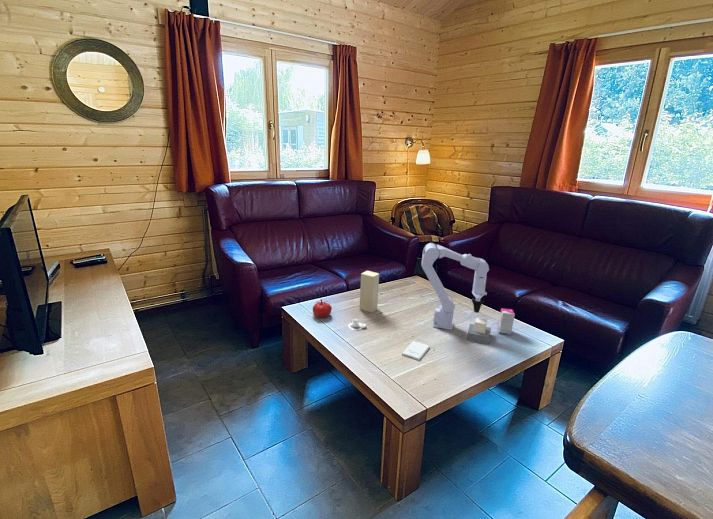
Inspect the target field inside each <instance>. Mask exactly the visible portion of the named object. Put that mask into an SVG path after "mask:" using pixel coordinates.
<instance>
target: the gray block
mask: <svg viewBox="0 0 713 519" xmlns="http://www.w3.org/2000/svg"><path fill="white" fill-rule="evenodd" d="M474 327H475V323H474V324H472V323H470V324H469V326H468V330H467V333H466V334H467V336H466V340H468V341H472V342H478V343H482V344H487V345H489V343H490V338H491V331H492V327H488V326H486V331H485V334H484V333H479V332H475V331H474Z"/></svg>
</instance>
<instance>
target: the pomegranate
mask: <svg viewBox="0 0 713 519" xmlns="http://www.w3.org/2000/svg"><path fill="white" fill-rule="evenodd" d="M332 309H333V307H332V305H331V304H330V303H328V302H327V300H325V301H323V299H321V298H320V301H316V303H315V304H314V305H313V306H312V314H313V316H314V317H316V318H320V319H322V318H324V319H325V318H327V317H329V316H330V315H331V313H332V311H333V310H332Z"/></svg>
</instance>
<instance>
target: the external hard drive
mask: <svg viewBox="0 0 713 519" xmlns="http://www.w3.org/2000/svg"><path fill="white" fill-rule="evenodd" d="M430 346H431V345H428V344H425V343H423V342H418V341H415V340H414V341H413V340H412V342H411V343H410V344H409V345H408V346H406V348H405V350H404V351H402V353H401V355H402V356H404V357H407V358H411V359H413V360H416V361H420V360H421V359H422V358H423V356H424V355H425V354H426V353H427V351H428V350H429V349H430V348H431V347H430Z"/></svg>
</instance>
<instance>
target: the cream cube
mask: <svg viewBox="0 0 713 519" xmlns="http://www.w3.org/2000/svg"><path fill="white" fill-rule="evenodd" d="M475 318H476V319H475V322H474V325H475V327H474V331H475V332H479V333H484V334H485V331H486V327H487V324H488V319H484V318H480V317H475Z"/></svg>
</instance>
